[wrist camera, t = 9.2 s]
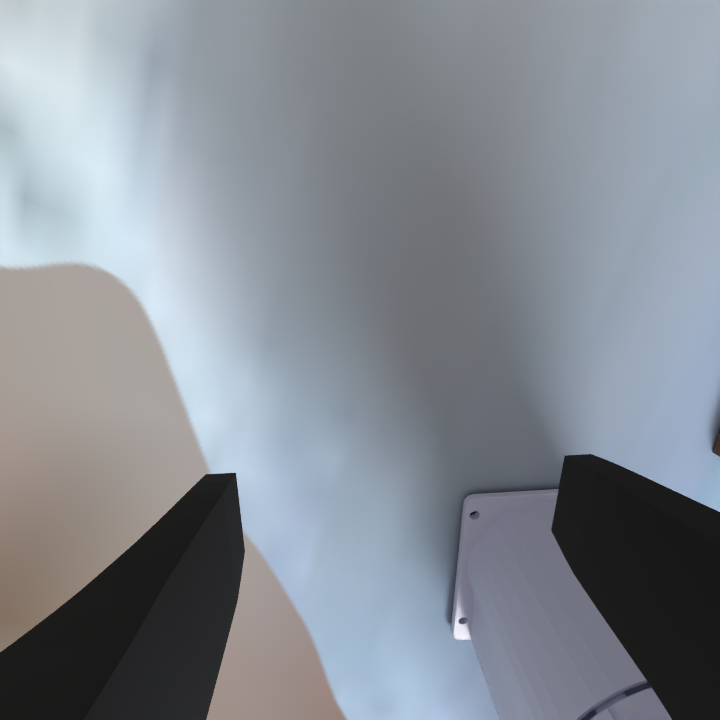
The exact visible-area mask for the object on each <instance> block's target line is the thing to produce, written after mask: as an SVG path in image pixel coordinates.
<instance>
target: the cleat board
mask: <svg viewBox="0 0 720 720" xmlns="http://www.w3.org/2000/svg"><path fill="white" fill-rule="evenodd" d="M713 453H715V454H717V455H718V456H720V431H719V434H718V437H717V440H716V443H715V446H714V449H713Z"/></svg>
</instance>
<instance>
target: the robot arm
mask: <svg viewBox="0 0 720 720" xmlns="http://www.w3.org/2000/svg"><path fill="white" fill-rule="evenodd" d="M474 511H476V513H474V514H472V515H471V514H470V513H472V512H474ZM244 553H245V549H244V540H243V532H242V523H241V514H240V505H239V497H238V488H237V479H236V473H225V474H206V475H205V476H204V477H203V478H202V479H201V480H200V481H199V482H198V483H197V484H196V485H194V486H193V487H192V488H191V489H190V490H189V491H188V492H187V493H186V494H185V495H184V496H183V497H182V498H181V499H180V500H179V501H178V502H177V503H176V504H175V505H174V506H173V507H172V508H171V509H170V510H169V511H168V512H167V513H166V514H165V515H164V516H163V517H162V518H161V519H160V520H159V521H158V522H157V523H156V524H155V525H153V526H152V527H151V528H150V530H148V531H147V532H146V533H145V534H144V535H143V536H142V537H141V538H140V539H139V540H138V541H137V542H136V543H135V544H133V545H132V546H131V547H130V548H129V549H128V550H127V551H125V552H124V553H123V554H122V555H121V556H120V557H119V558H118V559H116V560H115V561H114V562H113V563H112V564H111V565H109V566H108V567H107V568H106V569H105V570H104V571H103V572H102V573H100V574H99V575H98V576H97V577H96V578H95V579H93V580H92V581H91V582H90V583H89V584H88V585H87V586H85V587H84V588H83V589H82V590H81V591H79V592H78V593H77V594H76V595H75V596H73V597H72V598H71V599H70V600H68V601H67V602H66V603H65V604H63V605H62V606H61V607H60V608H58V609H57V610H56V611H55V612H53V613H52V614H51V615H49V616H48V617H47V618H46V619H45V620H43V621H42V622H40V623H39V624H38V625H36V626H35V627H34V628H33V629H31V630H30V631H28V632H27V633H26V634H24V635H23V636H22V637H21V638H19V639H18V640H17V641H15V642H14V643H13V644H11V645H10V646H8V647H7V648H6V649H4V650H3V651H2V652H0V720H206V718H207V714H208V711H209V707H210V703H211V699H212V696H213V692H214V688H215V684H216V680H217V677H218V673H219V669H220V665H221V662H222V658H223V654H224V650H225V647H226V643H227V639H228V635H229V631H230V628H231V623H232V620H233V616H234V612H235V608H236V604H237V600H238V594H239V587H240V581H241V574H242V566H243V560H244ZM451 632H452V635H453V637H454V638H455V639H457V640H468V639H471V640H472V643H473V646H474V648H475V651H476V654H477V657H478V660H479V662H480V665H481V668H482V671H483V674H484V676H485V679H486V682H487V685H488V688H489V690H490V693H491V696H492V699H493V701H494V704H495V707H496V710H497V713H498V715H499V718H500V720H720V512H718V511H716V510H714V509H712V508H710V507H707V506H705V505H703V504H701V503H699V502H697V501H694V500H692V499H690V498H688V497H686V496H684V495H682V494H679V493H677V492H675V491H673V490H671V489H669V488H667V487H665V486H662V485H660V484H658V483H656V482H654V481H652V480H650V479H647V478H645V477H643V476H641V475H639V474H637V473H635V472H632V471H630V470H628V469H626V468H624V467H621V466H619V465H617V464H614V463H612V462H610V461H607V460H605V459H602V458H600V457H597V456H594V455H591V454H587V455H568V456H565V458H564V463H563V468H562V474H561V479H560V485H559V489H550V490H533V491H516V492H500V493H483V494H472V495H469V496H467V497H466V498H465V500H464V502H463V511H462V521H461V532H460V542H459V552H458V562H457V573H456V583H455V593H454V604H453V614H452V624H451Z"/></svg>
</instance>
